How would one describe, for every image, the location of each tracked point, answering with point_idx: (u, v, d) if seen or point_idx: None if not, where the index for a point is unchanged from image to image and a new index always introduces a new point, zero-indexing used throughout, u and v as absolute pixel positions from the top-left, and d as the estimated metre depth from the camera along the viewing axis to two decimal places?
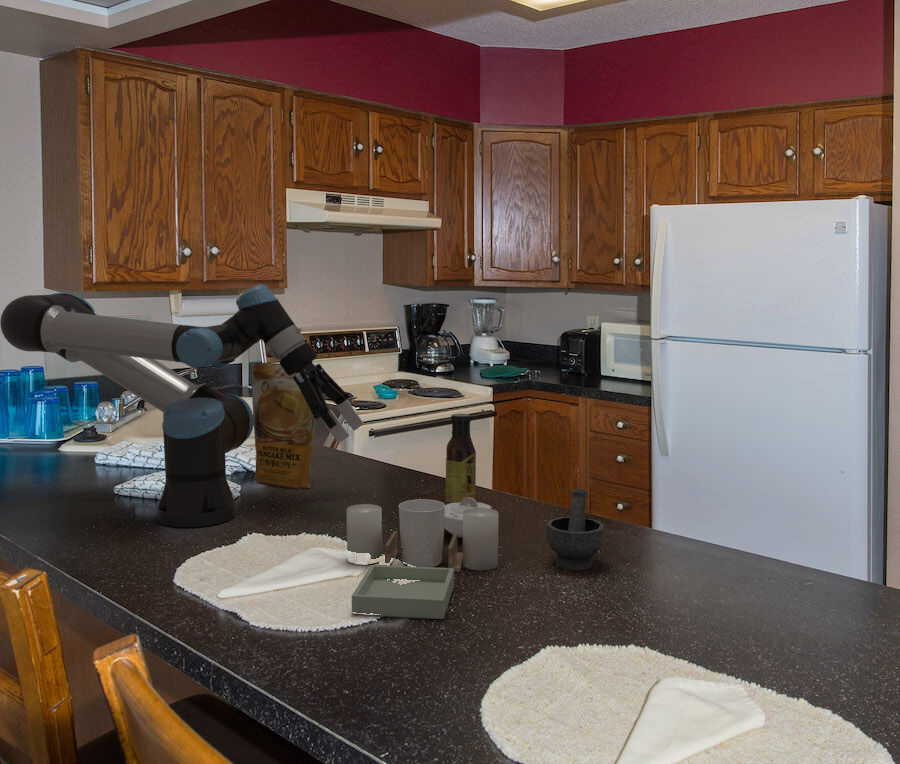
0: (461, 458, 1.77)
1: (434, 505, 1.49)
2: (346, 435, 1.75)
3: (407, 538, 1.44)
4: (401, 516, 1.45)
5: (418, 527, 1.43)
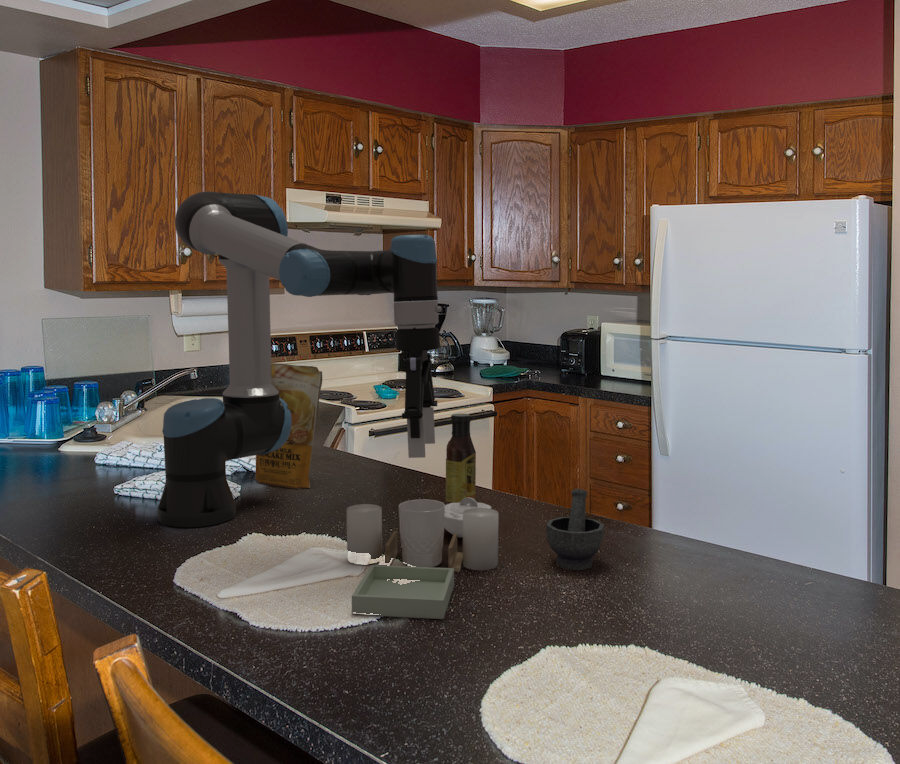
0: (461, 458, 1.77)
1: (434, 505, 1.49)
2: (422, 455, 1.42)
3: (407, 538, 1.44)
4: (401, 516, 1.45)
5: (418, 527, 1.43)
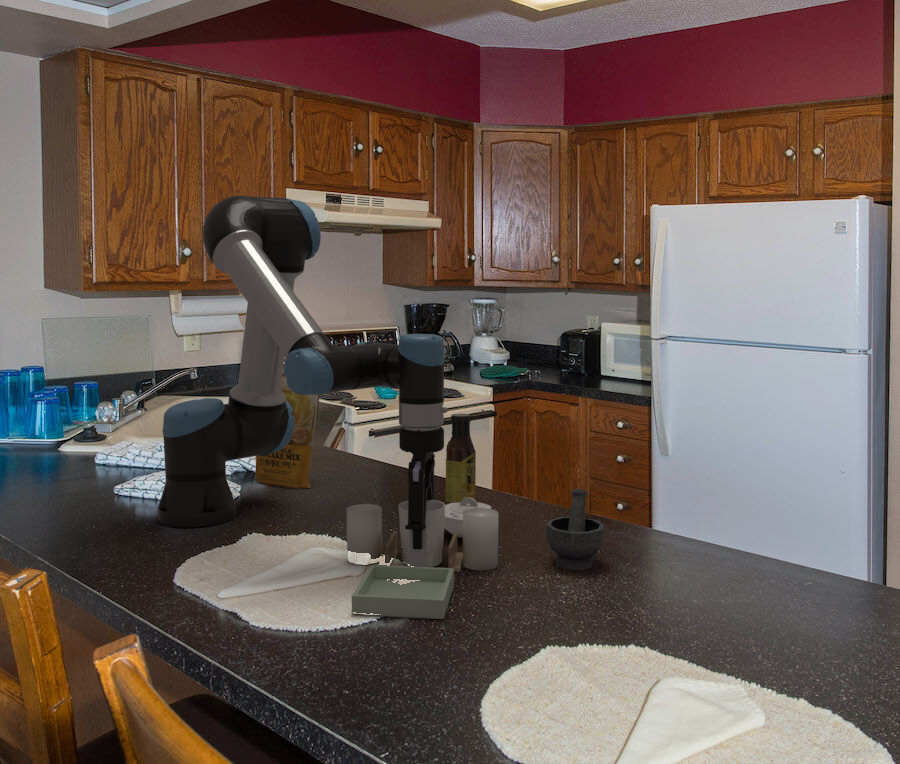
0: (461, 458, 1.77)
1: (434, 505, 1.49)
2: (424, 564, 1.43)
3: (407, 538, 1.44)
4: (401, 516, 1.45)
5: None
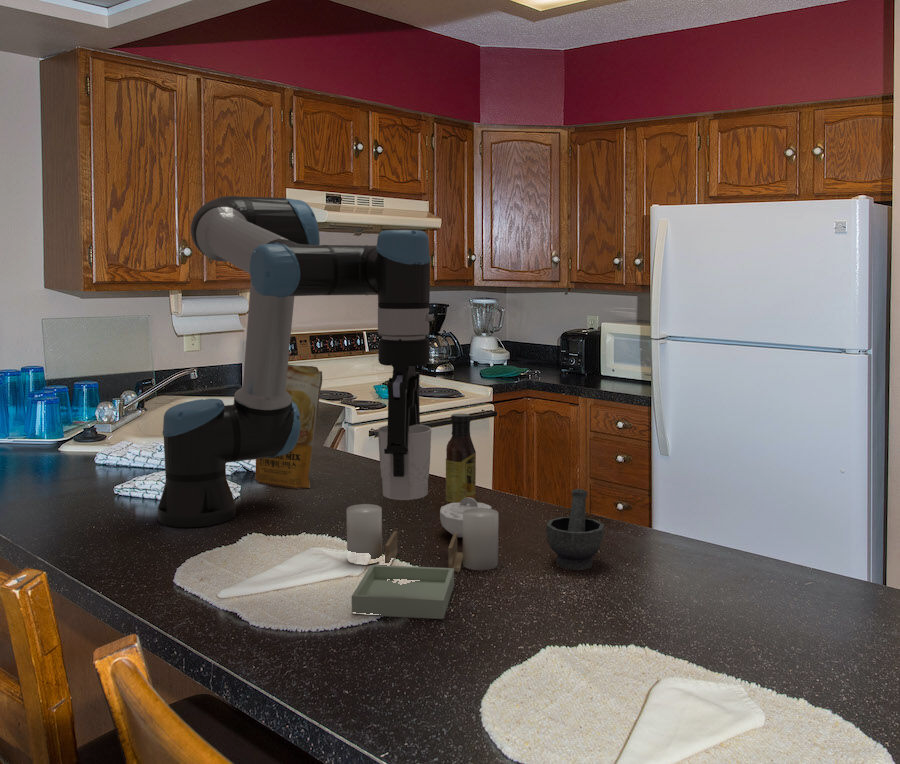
0: (461, 458, 1.77)
1: (419, 430, 1.31)
2: (406, 495, 1.24)
3: (388, 466, 1.25)
4: (381, 440, 1.26)
5: None
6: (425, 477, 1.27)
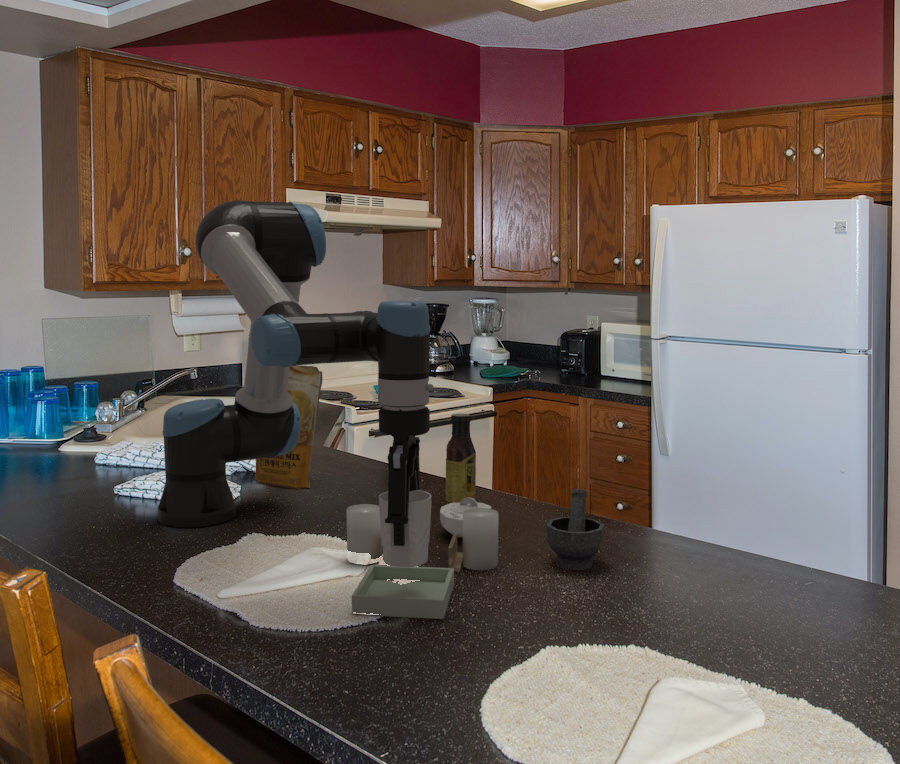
0: (461, 458, 1.77)
1: (419, 496, 1.32)
2: (406, 563, 1.25)
3: (388, 533, 1.27)
4: (381, 508, 1.27)
5: None
6: (425, 544, 1.28)
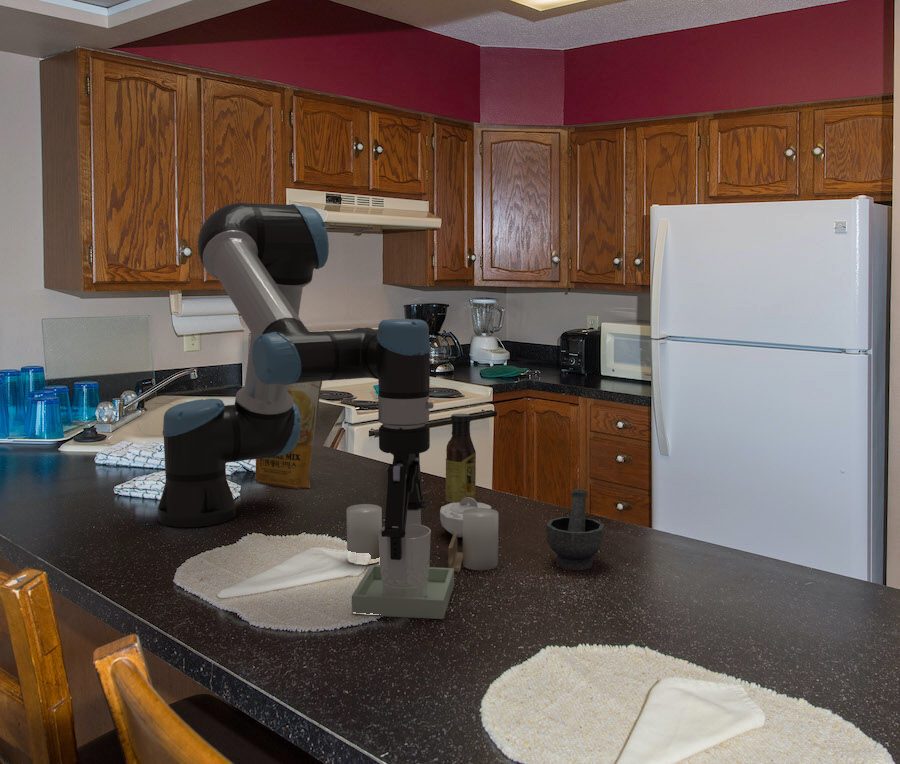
0: (461, 458, 1.77)
1: (418, 530, 1.32)
2: (403, 577, 1.23)
3: None
4: (381, 543, 1.28)
5: None
6: (425, 579, 1.29)
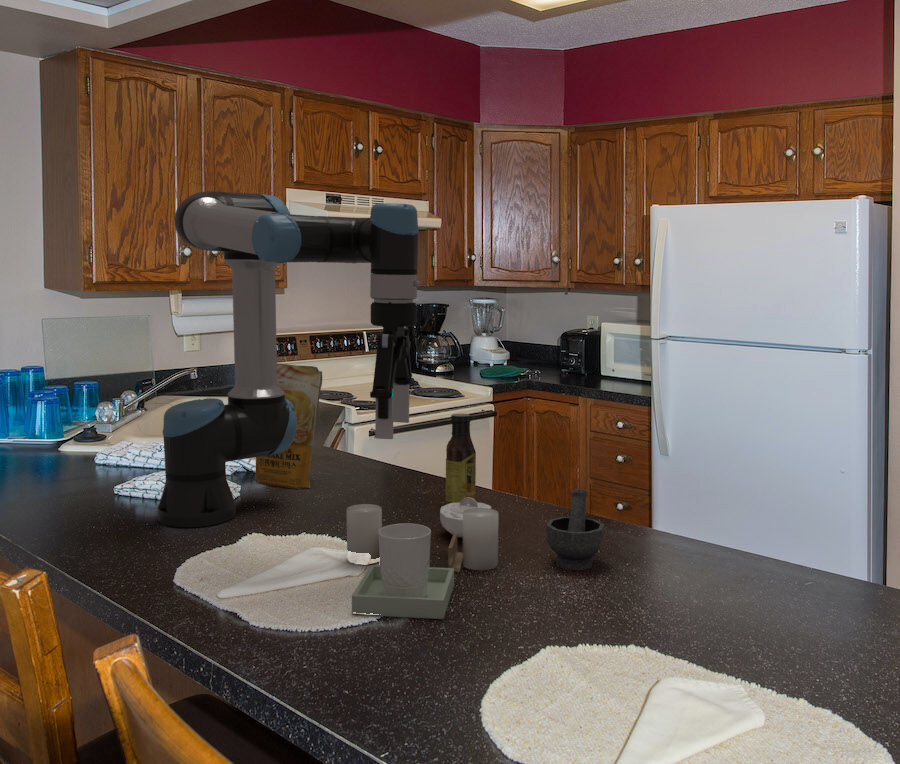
0: (461, 458, 1.77)
1: (418, 530, 1.32)
2: (390, 436, 1.35)
3: (388, 569, 1.27)
4: (381, 543, 1.28)
5: (400, 557, 1.26)
6: (425, 579, 1.29)
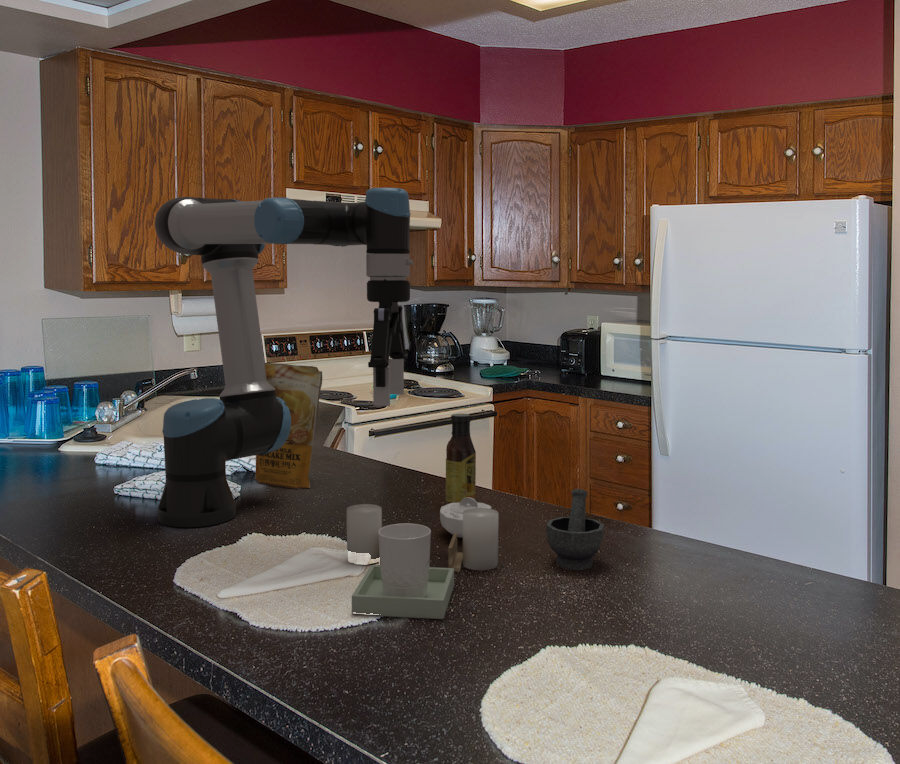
0: (461, 458, 1.77)
1: (418, 530, 1.32)
2: (387, 403, 1.46)
3: (388, 569, 1.27)
4: (381, 543, 1.28)
5: (400, 557, 1.26)
6: (425, 579, 1.29)
